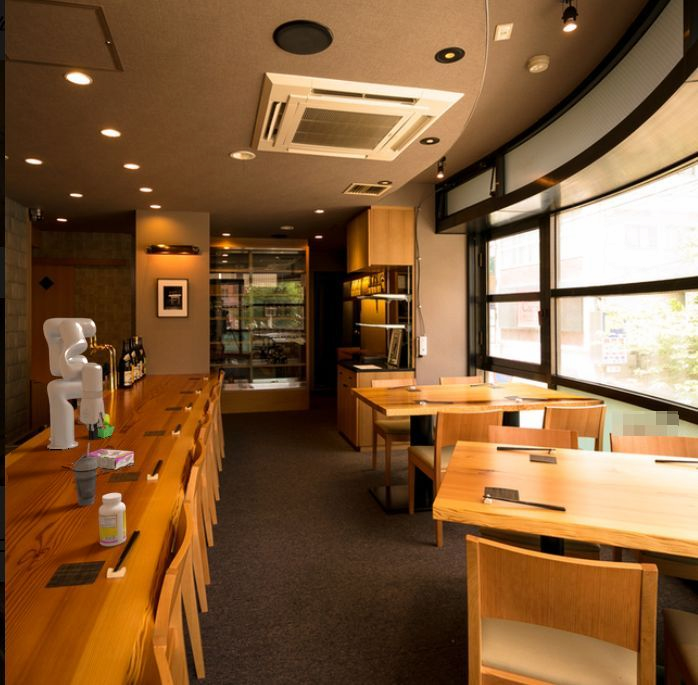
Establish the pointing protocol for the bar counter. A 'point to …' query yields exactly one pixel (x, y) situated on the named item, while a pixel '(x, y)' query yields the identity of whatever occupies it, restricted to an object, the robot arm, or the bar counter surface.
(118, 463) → the candy bar box
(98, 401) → the robot arm
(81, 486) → the beverage cup
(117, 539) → the supplement bottle
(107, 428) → the fruit basket
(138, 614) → the bar counter surface
